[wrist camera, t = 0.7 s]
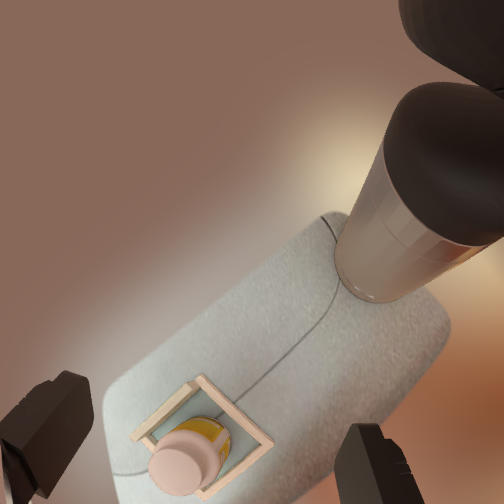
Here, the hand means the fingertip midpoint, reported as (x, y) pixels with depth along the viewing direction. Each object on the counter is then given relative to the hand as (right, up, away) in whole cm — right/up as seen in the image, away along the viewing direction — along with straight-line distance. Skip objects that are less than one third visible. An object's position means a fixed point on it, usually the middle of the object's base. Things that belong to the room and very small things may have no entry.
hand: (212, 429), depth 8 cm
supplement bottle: (-3, -13, +19) cm, 23 cm away
